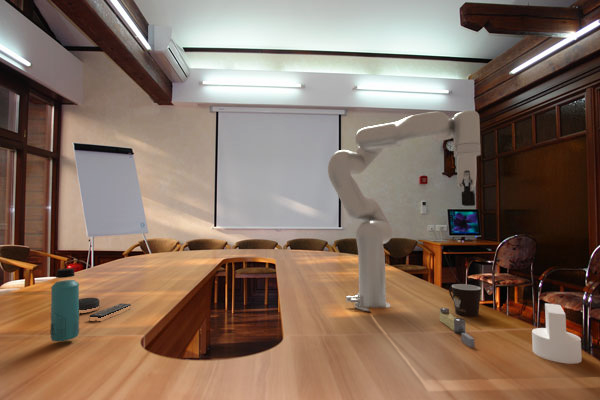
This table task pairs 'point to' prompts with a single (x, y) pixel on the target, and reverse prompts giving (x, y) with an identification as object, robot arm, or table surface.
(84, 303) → the smart speaker
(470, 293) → the coffee mug
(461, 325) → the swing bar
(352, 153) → the robot arm
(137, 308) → the table surface
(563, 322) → the cylinder with rectangular tab
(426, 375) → the table surface
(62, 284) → the beverage bottle
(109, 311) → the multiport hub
